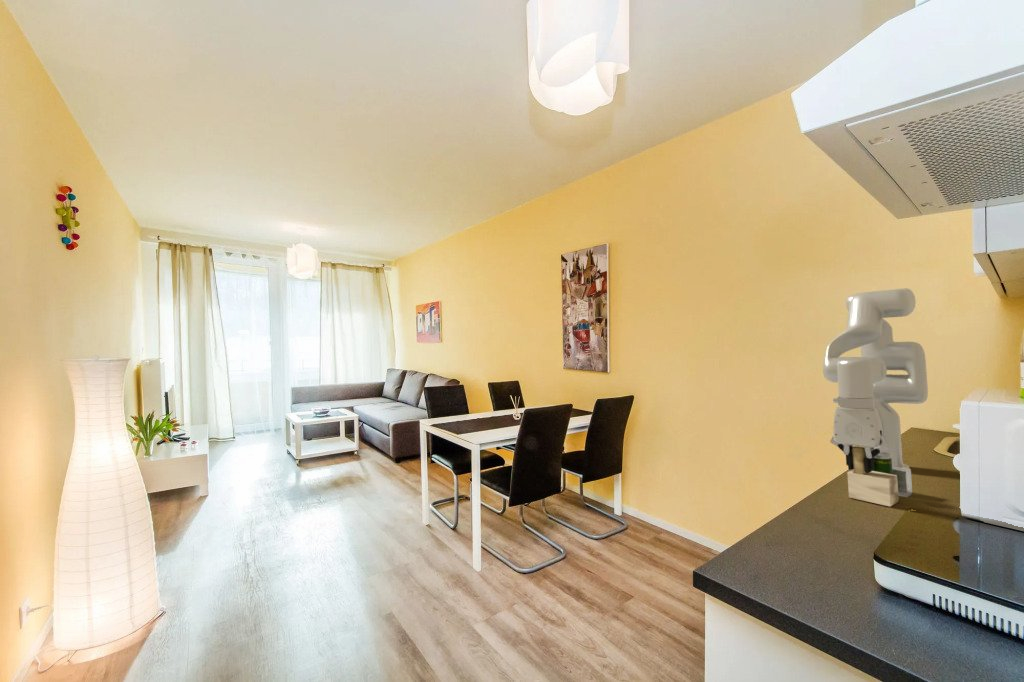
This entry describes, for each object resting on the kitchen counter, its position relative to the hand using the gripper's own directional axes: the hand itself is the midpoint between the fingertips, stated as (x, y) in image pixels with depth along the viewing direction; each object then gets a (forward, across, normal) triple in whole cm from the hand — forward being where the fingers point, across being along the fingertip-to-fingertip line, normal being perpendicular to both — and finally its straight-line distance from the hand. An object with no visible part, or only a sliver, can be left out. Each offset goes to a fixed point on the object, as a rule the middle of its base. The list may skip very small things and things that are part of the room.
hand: (860, 469), depth 117 cm
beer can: (+8, +2, +7) cm, 11 cm away
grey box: (+8, +2, +13) cm, 16 cm away
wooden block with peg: (+8, +2, +2) cm, 9 cm away
